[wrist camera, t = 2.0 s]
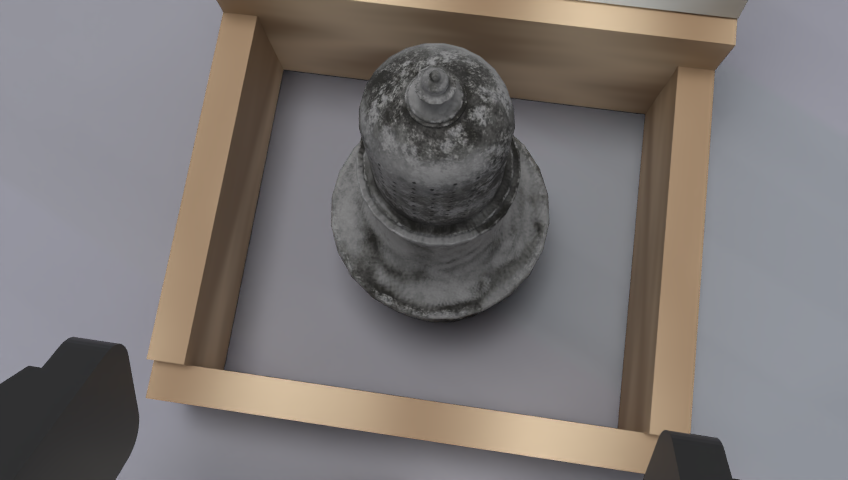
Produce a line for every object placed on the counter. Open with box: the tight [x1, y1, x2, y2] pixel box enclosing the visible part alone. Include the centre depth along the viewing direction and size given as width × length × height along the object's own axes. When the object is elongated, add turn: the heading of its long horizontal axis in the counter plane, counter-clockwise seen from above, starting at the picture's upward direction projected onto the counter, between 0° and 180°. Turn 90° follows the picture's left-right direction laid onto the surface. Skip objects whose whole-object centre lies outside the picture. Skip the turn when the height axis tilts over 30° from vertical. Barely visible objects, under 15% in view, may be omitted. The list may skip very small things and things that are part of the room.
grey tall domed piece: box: [331, 43, 549, 322], centre depth 17 cm, size 6×6×12 cm
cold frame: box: [146, 0, 748, 474], centre depth 15 cm, size 14×15×17 cm
